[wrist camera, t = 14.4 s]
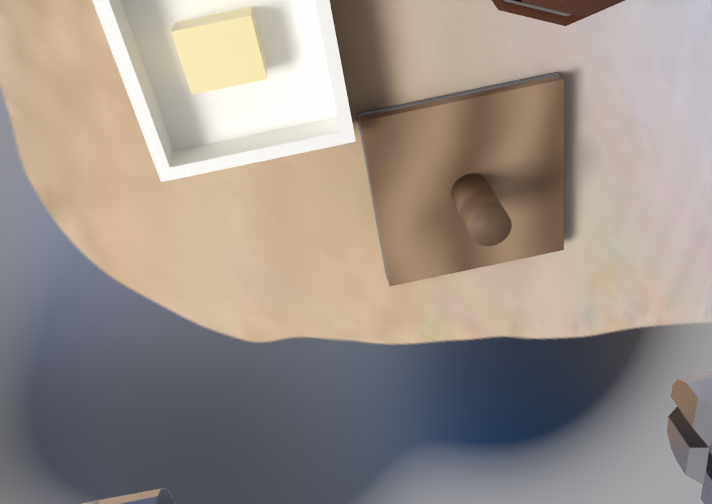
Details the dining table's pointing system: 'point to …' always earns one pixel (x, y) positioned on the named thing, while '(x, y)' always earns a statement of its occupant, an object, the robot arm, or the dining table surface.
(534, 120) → the lid
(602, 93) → the dining table surface
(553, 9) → the ice cream bowl
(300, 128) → the dish
